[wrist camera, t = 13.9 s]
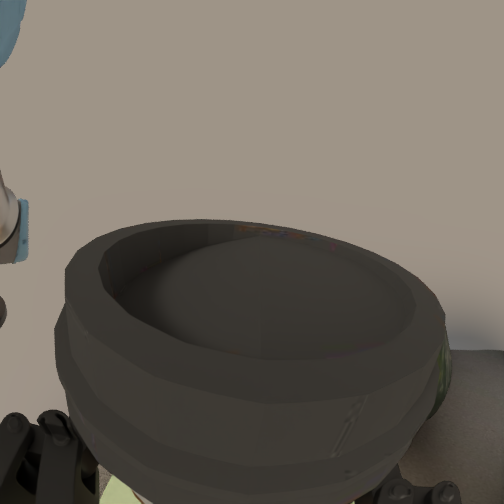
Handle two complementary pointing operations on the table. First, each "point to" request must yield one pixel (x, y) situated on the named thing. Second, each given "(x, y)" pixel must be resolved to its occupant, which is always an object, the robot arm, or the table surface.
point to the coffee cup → (245, 362)
